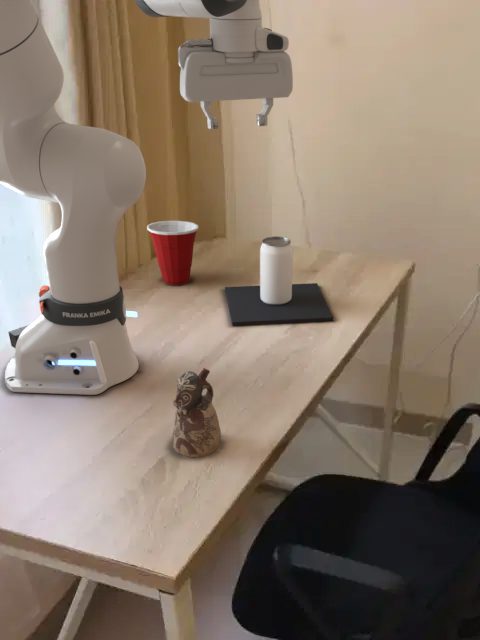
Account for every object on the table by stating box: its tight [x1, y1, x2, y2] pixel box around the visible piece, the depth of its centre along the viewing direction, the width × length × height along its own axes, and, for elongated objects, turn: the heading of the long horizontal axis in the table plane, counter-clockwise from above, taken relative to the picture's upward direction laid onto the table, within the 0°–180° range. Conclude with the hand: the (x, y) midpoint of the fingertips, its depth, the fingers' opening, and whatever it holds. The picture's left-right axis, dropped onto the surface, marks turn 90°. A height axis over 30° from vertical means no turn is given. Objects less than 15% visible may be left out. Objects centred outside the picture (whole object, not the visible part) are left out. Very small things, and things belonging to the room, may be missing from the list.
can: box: [259, 235, 294, 305], centre depth 150 cm, size 6×6×12 cm
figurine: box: [171, 367, 222, 458], centre depth 108 cm, size 7×7×12 cm
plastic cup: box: [146, 220, 199, 286], centre depth 160 cm, size 11×11×12 cm
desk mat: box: [224, 282, 334, 327], centre depth 153 cm, size 20×18×1 cm
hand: (237, 127), depth 136 cm, fingers open, 8 cm apart
